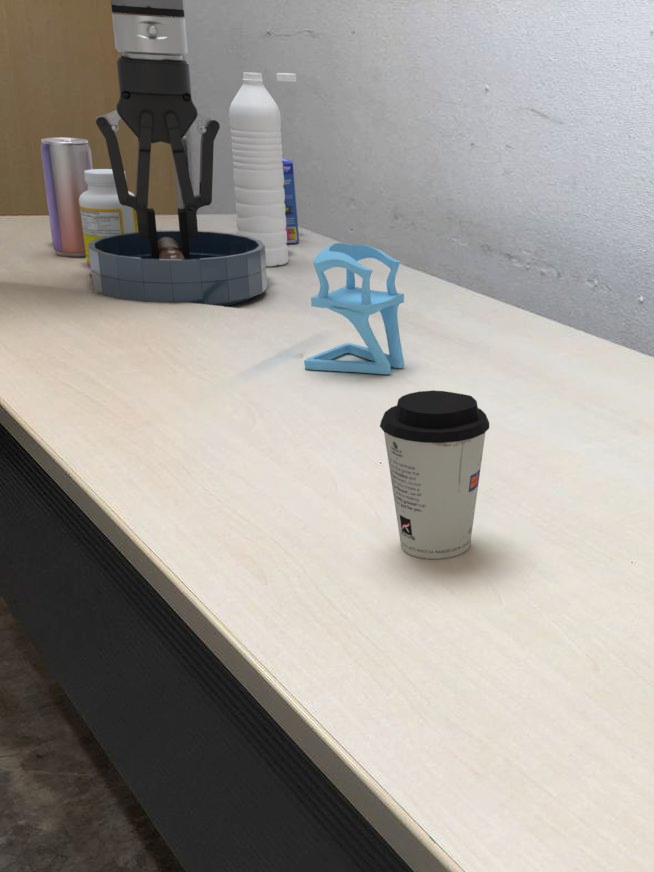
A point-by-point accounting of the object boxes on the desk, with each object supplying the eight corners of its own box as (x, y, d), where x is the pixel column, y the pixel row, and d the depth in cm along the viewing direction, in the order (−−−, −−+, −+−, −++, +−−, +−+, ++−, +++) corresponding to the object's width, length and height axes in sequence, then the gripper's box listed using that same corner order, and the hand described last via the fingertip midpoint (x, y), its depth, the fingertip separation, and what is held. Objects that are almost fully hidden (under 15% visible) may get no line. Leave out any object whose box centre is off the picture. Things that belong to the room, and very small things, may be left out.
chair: (376, 381, 108) (373, 257, 103) (302, 368, 110) (296, 246, 106) (416, 362, 115) (415, 245, 110) (346, 350, 117) (342, 235, 113)
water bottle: (238, 267, 152) (225, 71, 143) (239, 257, 158) (226, 69, 148) (305, 267, 154) (296, 75, 145) (304, 258, 160) (295, 72, 151)
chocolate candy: (157, 259, 140) (151, 237, 138) (181, 255, 141) (175, 233, 139) (165, 281, 129) (158, 257, 128) (190, 276, 130) (184, 252, 129)
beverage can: (43, 254, 151) (28, 139, 146) (74, 247, 157) (61, 136, 151) (82, 259, 150) (68, 143, 145) (111, 252, 156) (99, 140, 150)
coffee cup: (386, 570, 71) (383, 421, 67) (378, 525, 77) (375, 387, 73) (496, 563, 73) (498, 417, 69) (479, 520, 79) (481, 384, 75)
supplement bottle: (123, 266, 148) (112, 166, 143) (156, 274, 145) (146, 172, 140) (76, 273, 142) (63, 169, 137) (109, 282, 139) (97, 175, 134)
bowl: (57, 301, 128) (50, 249, 126) (157, 271, 146) (152, 225, 144) (212, 319, 125) (208, 266, 123) (295, 286, 143) (292, 239, 141)
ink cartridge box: (239, 234, 174) (232, 137, 169) (274, 232, 177) (268, 137, 172) (265, 245, 167) (258, 144, 162) (300, 243, 170) (295, 144, 165)
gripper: (74, 54, 120) (99, 273, 128) (230, 62, 126) (244, 269, 135) (74, 51, 126) (97, 260, 134) (223, 59, 132) (236, 257, 141)
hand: (171, 264), depth 135 cm, fingers closed on chocolate candy, 3 cm apart
